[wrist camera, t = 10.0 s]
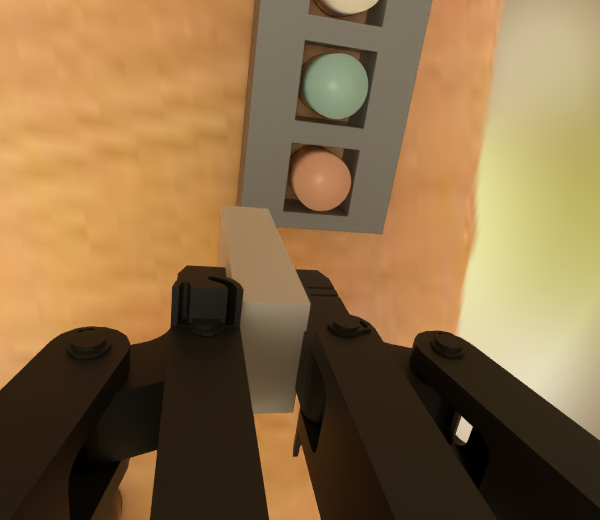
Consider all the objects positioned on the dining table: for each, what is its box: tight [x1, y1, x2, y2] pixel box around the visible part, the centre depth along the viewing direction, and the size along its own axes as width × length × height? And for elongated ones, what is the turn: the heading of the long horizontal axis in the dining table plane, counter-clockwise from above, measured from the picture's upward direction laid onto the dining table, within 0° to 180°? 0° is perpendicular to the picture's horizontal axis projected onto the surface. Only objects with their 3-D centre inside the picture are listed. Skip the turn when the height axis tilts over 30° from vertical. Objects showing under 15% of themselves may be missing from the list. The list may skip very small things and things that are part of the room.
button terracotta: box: [287, 146, 351, 211], centre depth 37 cm, size 4×4×4 cm
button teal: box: [298, 53, 368, 119], centre depth 35 cm, size 4×4×4 cm
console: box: [237, 0, 432, 234], centre depth 36 cm, size 12×22×4 cm, turn 171°
